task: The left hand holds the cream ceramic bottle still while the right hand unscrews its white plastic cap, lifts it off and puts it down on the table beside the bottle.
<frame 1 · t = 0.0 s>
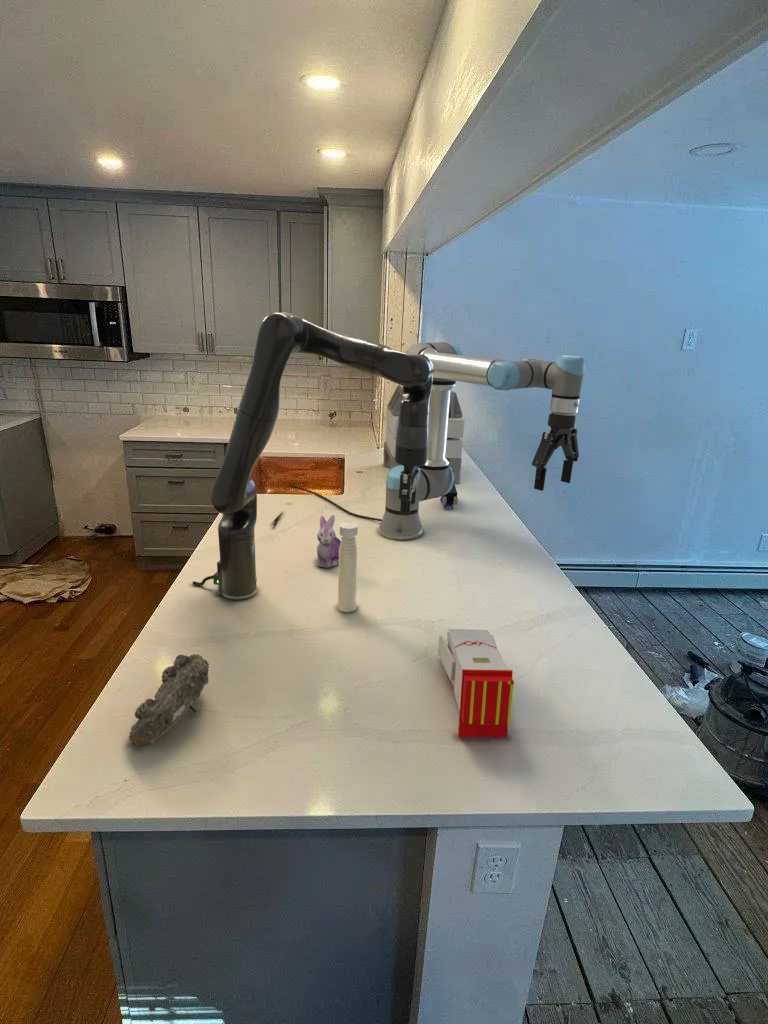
left hand: (407, 508, 137), 29 cm above the counter, tool pointing down, fingers open, 8 cm apart
right hand: (552, 485, 166), 28 cm above the counter, tool pointing down, fingers open, 13 cm apart
figurine character: (447, 505, 232), on the counter
figurine: (329, 562, 175), on the counter
fossil: (177, 711, 109), on the counter
cap: (348, 526, 142), point 23 cm above the counter, screwed on, not yet turned
bottle: (346, 607, 149), on the counter
feather: (280, 515, 212), on the counter
grey slatted box: (419, 473, 275), on the counter
toy: (469, 691, 119), on the counter
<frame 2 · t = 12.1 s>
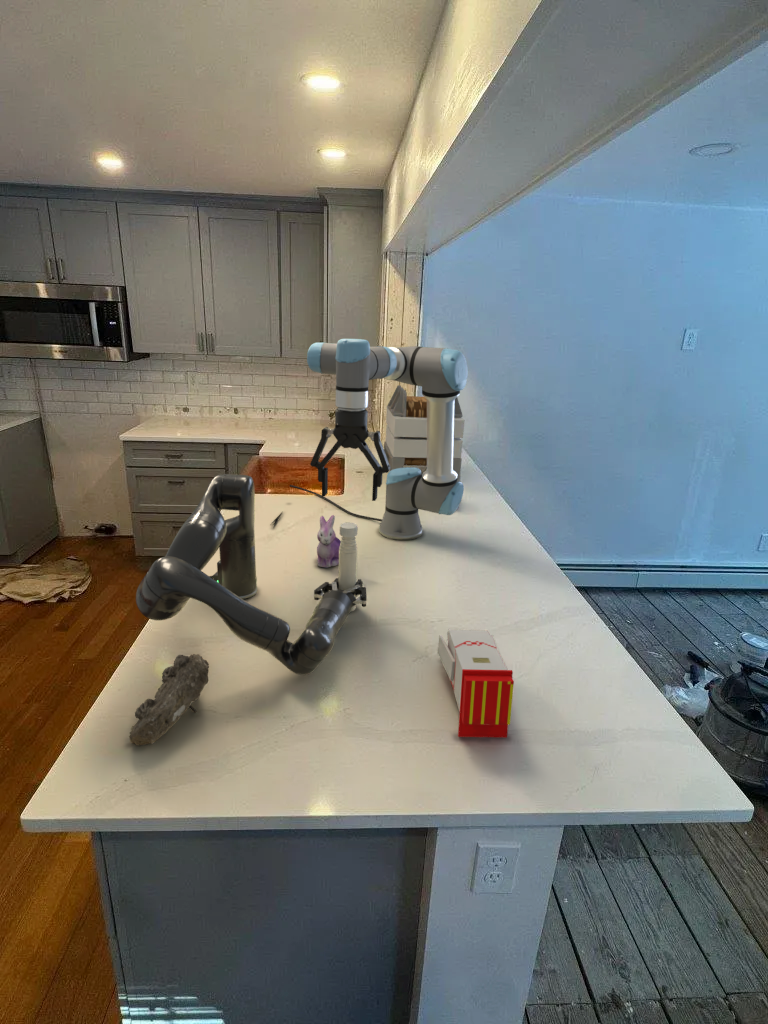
left hand: (350, 581, 150), 7 cm above the counter, tool horizontal, fingers closed on bottle, 4 cm apart
right hand: (349, 496, 139), 31 cm above the counter, tool pointing down, fingers open, 12 cm apart
bottle: (346, 607, 149), on the counter, touching left hand
everything else where it was.
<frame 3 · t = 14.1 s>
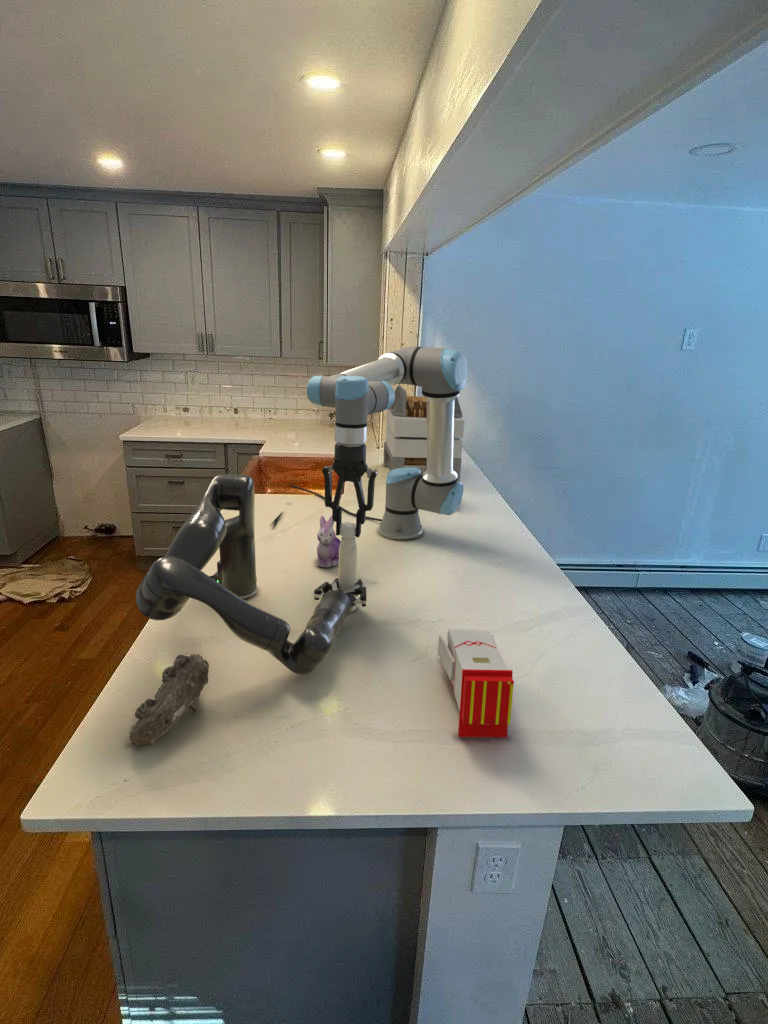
left hand: (350, 581, 150), 7 cm above the counter, tool horizontal, fingers closed on bottle, 4 cm apart
right hand: (348, 534, 142), 21 cm above the counter, tool pointing down, fingers closed on cap, 4 cm apart
cap: (348, 526, 142), point 23 cm above the counter, screwed on, not yet turned, touching right hand
bottle: (346, 607, 149), on the counter, touching left hand
everything else where it was.
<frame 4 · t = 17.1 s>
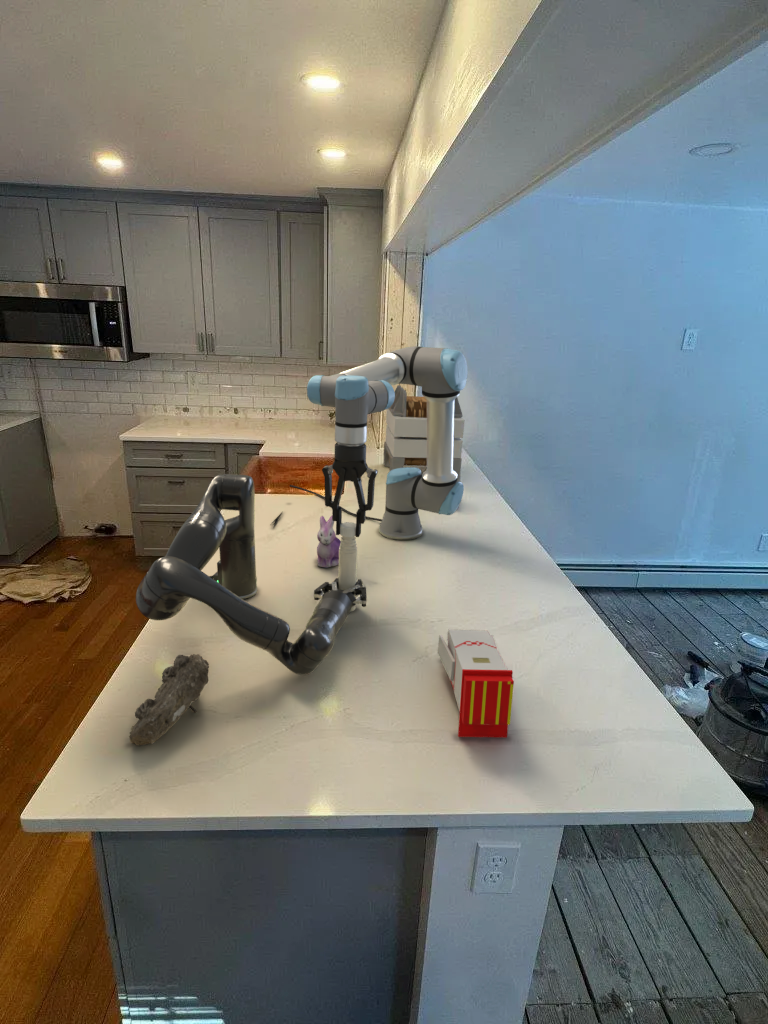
left hand: (350, 581, 150), 7 cm above the counter, tool horizontal, fingers closed on bottle, 4 cm apart
right hand: (348, 533, 142), 21 cm above the counter, tool pointing down, fingers closed on cap, 4 cm apart
cap: (348, 526, 142), point 23 cm above the counter, turned 86° so far, risen 0.1 cm, still on its thread, touching right hand
bottle: (346, 607, 149), on the counter, touching left hand
everything else where it was.
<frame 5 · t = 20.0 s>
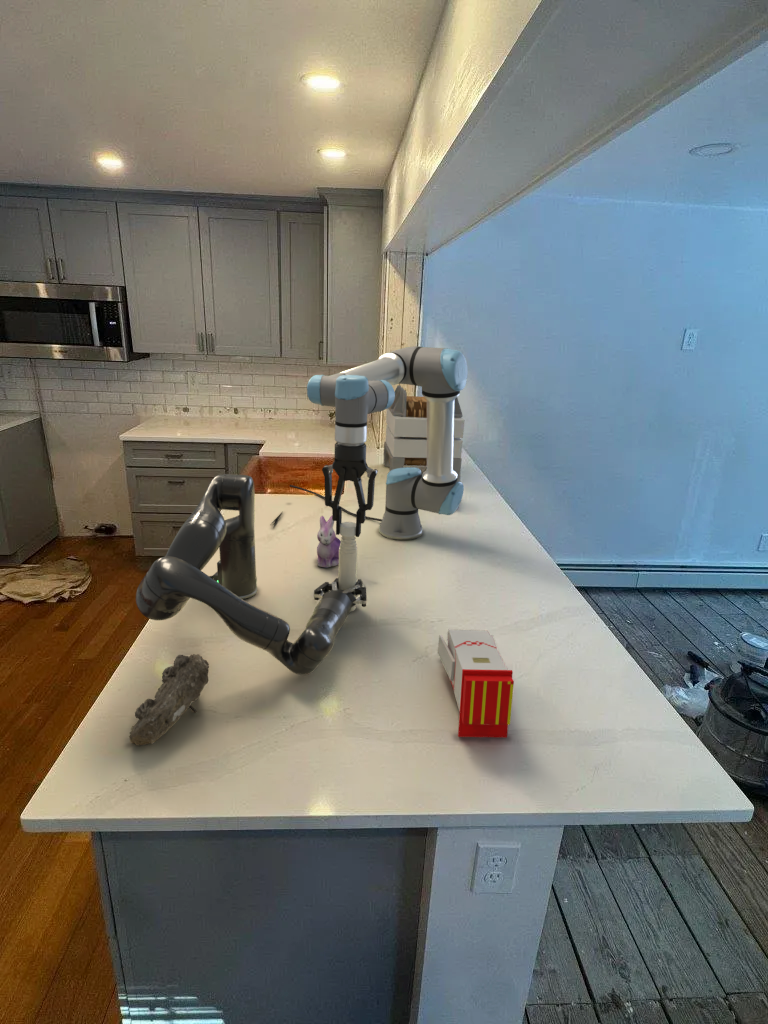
left hand: (350, 581, 150), 7 cm above the counter, tool horizontal, fingers closed on bottle, 4 cm apart
right hand: (348, 533, 142), 21 cm above the counter, tool pointing down, fingers closed on cap, 4 cm apart
cap: (348, 525, 142), point 23 cm above the counter, turned 172° so far, risen 0.2 cm, still on its thread, touching right hand
bottle: (346, 607, 149), on the counter, touching left hand
everything else where it was.
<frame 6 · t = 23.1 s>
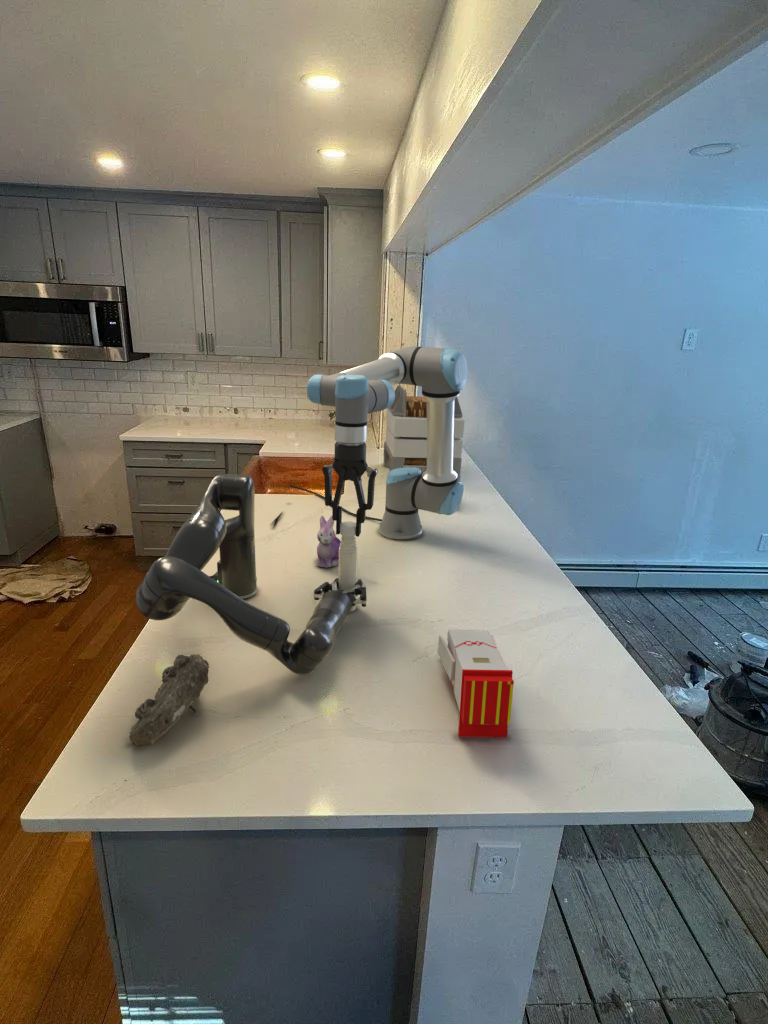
left hand: (350, 581, 150), 7 cm above the counter, tool horizontal, fingers closed on bottle, 4 cm apart
right hand: (348, 533, 142), 21 cm above the counter, tool pointing down, fingers closed on cap, 4 cm apart
cap: (348, 525, 142), point 23 cm above the counter, turned 258° so far, risen 0.3 cm, still on its thread, touching right hand
bottle: (346, 607, 149), on the counter, touching left hand
everything else where it was.
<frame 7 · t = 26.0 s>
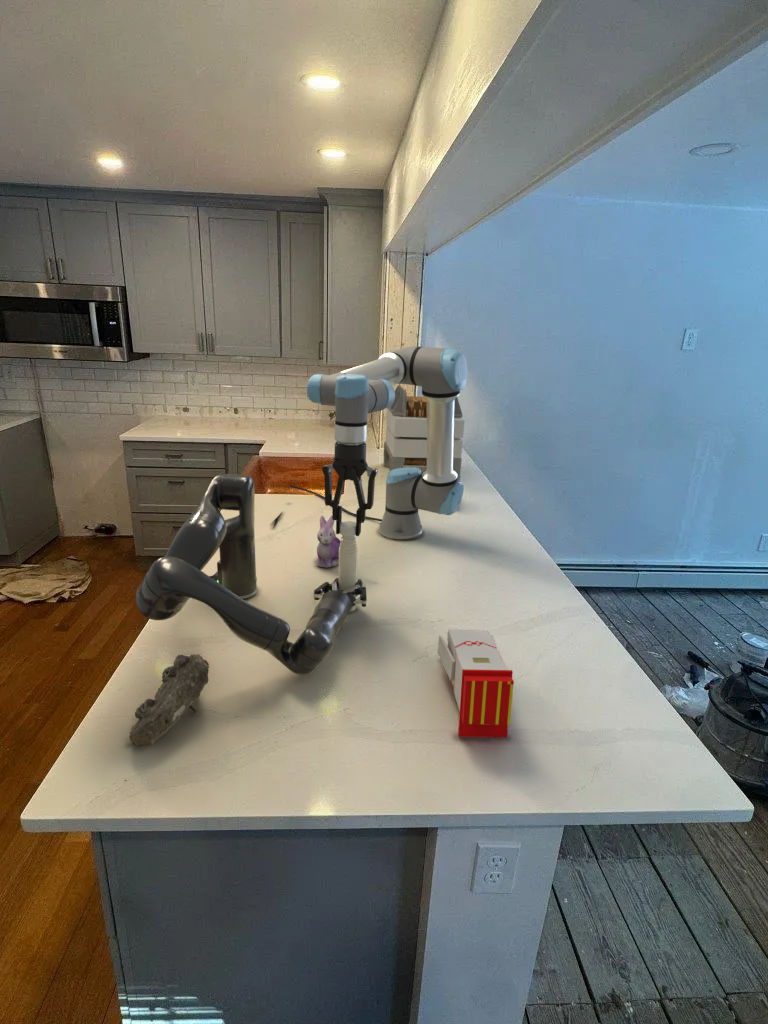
left hand: (350, 581, 150), 7 cm above the counter, tool horizontal, fingers closed on bottle, 4 cm apart
right hand: (348, 532, 142), 21 cm above the counter, tool pointing down, fingers closed on cap, 4 cm apart
cap: (348, 525, 142), point 23 cm above the counter, turned 344° so far, risen 0.3 cm, still on its thread, touching right hand
bottle: (346, 607, 149), on the counter, touching left hand
everything else where it was.
when the right hand's fingers open (1 cm above the counter, at t = 33.4 s): cap drops 2 cm, point 2 cm above the counter.
when the left hand's fingers open (7 cm above the counter, at t = 34.7 s): bottle stays where it is, on the counter.
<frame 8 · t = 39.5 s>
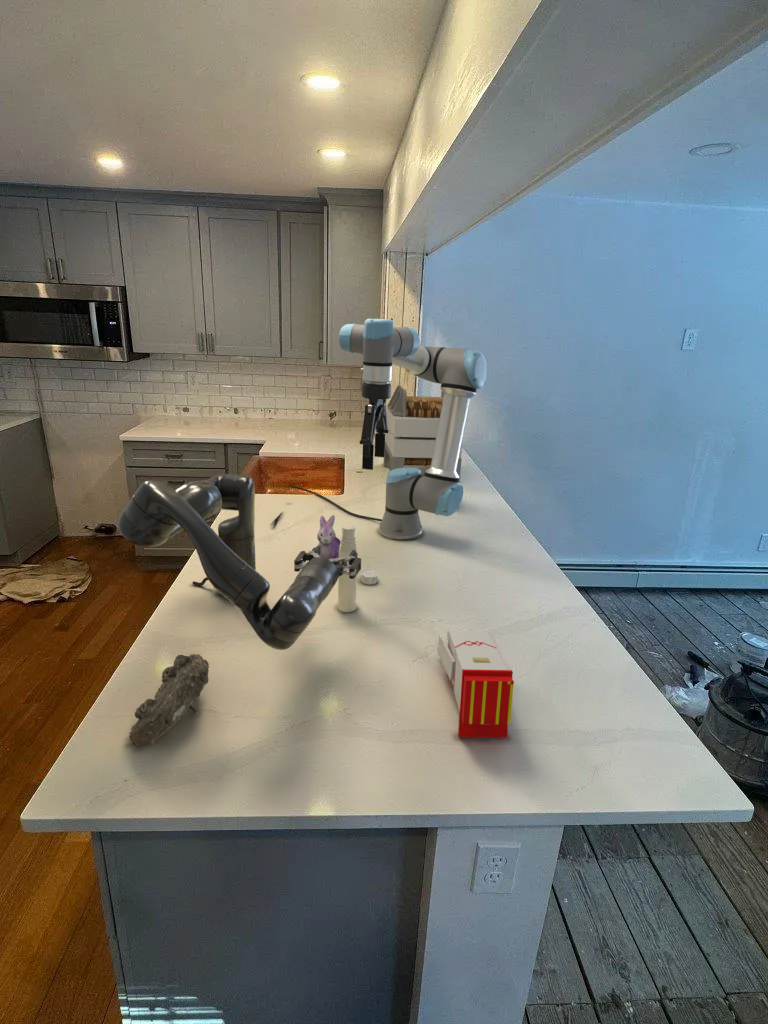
left hand: (336, 551, 133), 21 cm above the counter, tool horizontal, fingers open, 8 cm apart
right hand: (373, 462, 152), 35 cm above the counter, tool pointing down, fingers open, 13 cm apart
cap: (369, 574, 164), point 2 cm above the counter, off its thread
bottle: (346, 607, 149), on the counter
everything else where it was.
at the end: cap came off its thread; cap point 2.0 cm above the counter; the left hand is holding nothing; the right hand is holding nothing; bottle tilted 0°; bottle moved 0.0 cm from its start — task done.
